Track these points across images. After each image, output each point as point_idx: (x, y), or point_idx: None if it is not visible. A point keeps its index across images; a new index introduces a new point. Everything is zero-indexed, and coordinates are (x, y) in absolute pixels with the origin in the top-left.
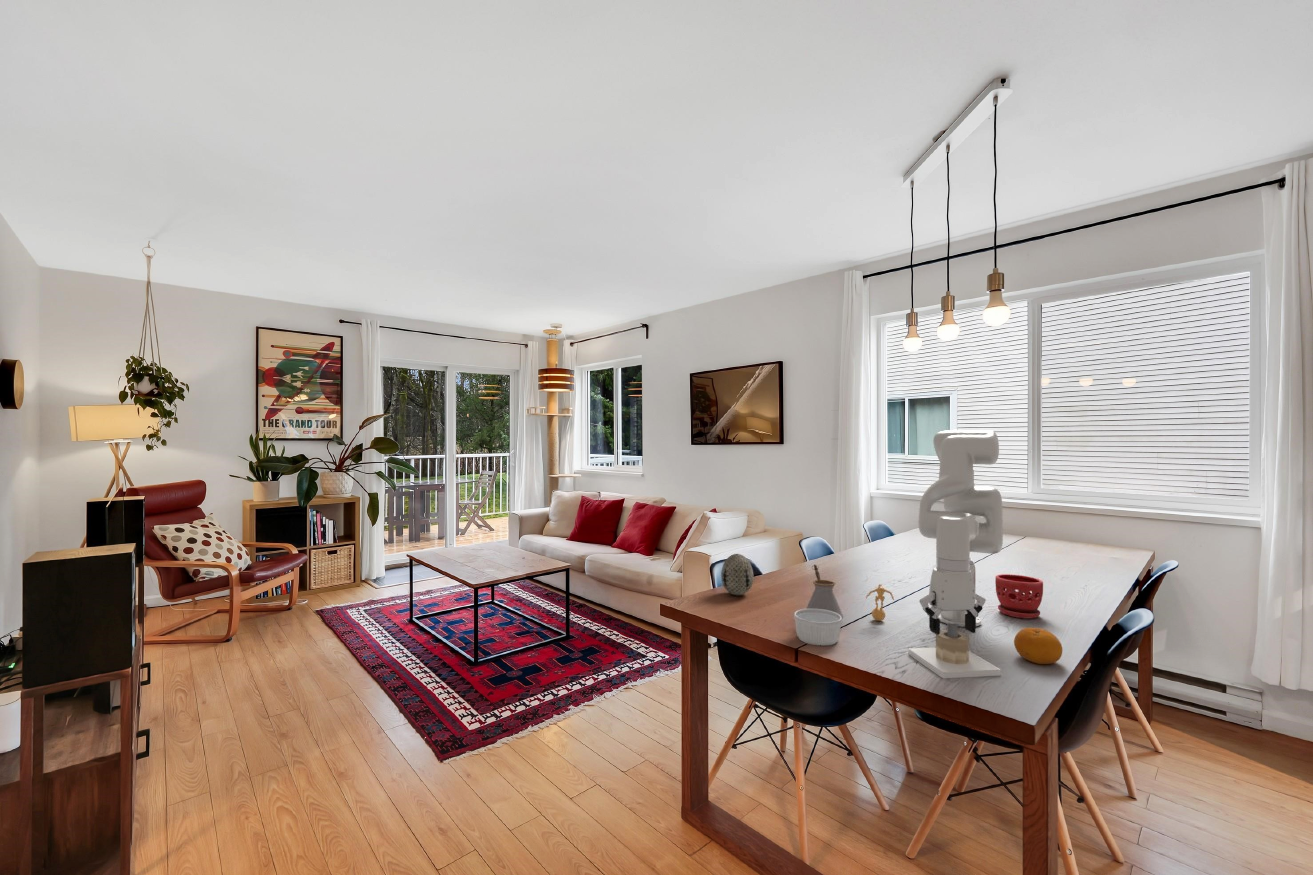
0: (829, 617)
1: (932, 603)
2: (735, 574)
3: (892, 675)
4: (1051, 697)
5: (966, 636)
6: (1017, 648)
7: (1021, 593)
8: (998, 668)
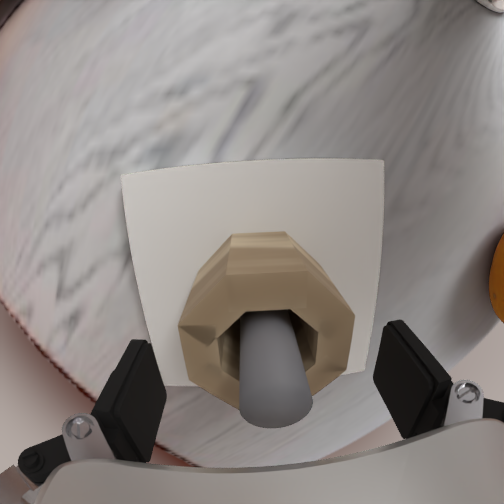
0: None
1: (89, 468)
2: None
3: (47, 336)
4: (365, 434)
5: (334, 369)
6: (501, 265)
7: None
8: (362, 366)
